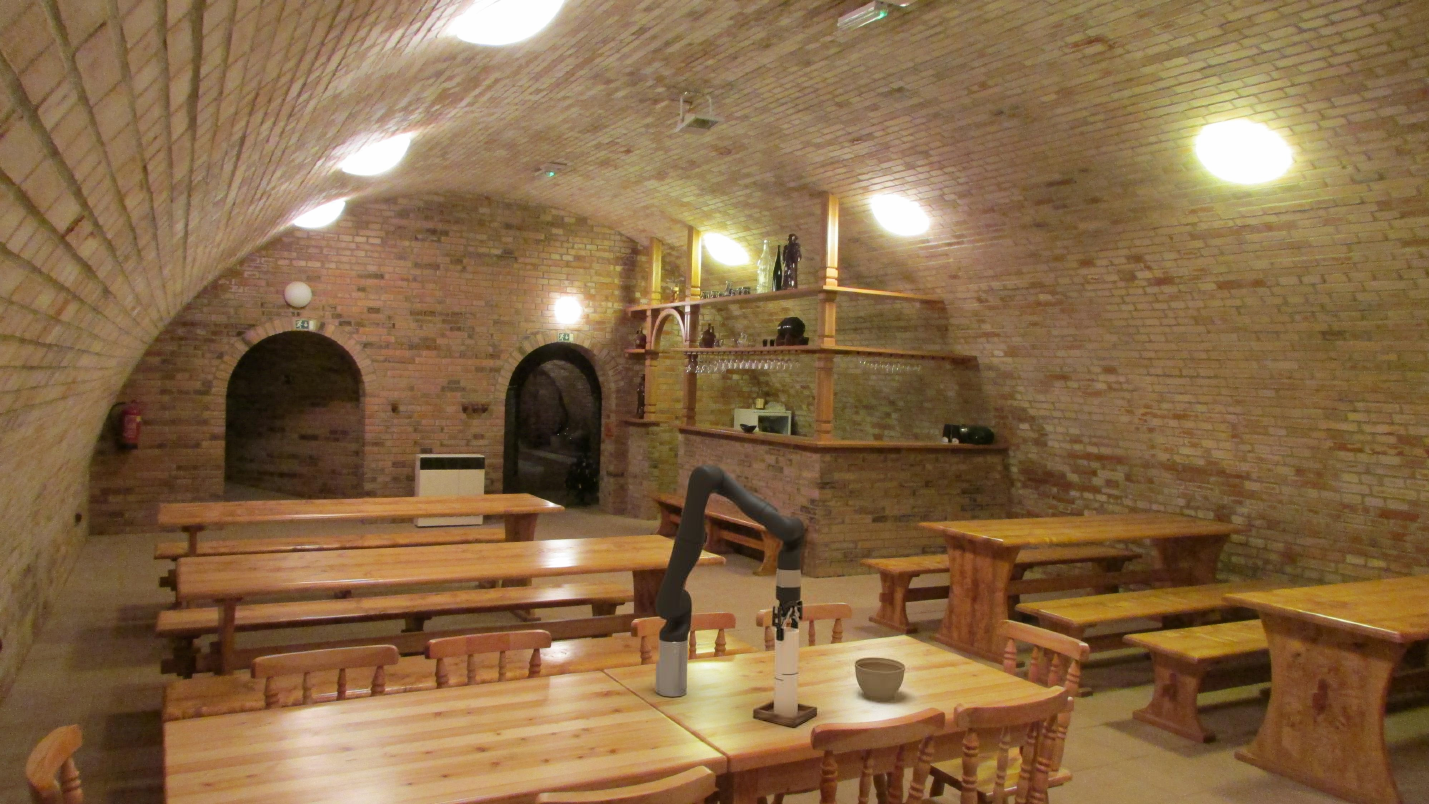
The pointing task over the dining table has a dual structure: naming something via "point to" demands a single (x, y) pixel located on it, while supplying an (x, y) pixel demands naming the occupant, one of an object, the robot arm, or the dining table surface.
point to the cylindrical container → (786, 673)
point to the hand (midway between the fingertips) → (787, 638)
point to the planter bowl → (879, 677)
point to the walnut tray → (768, 714)
